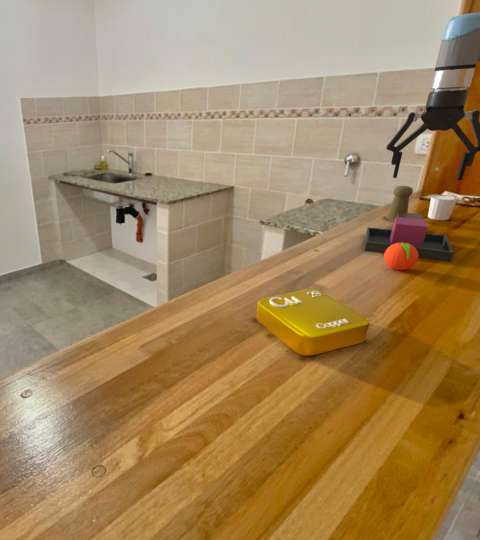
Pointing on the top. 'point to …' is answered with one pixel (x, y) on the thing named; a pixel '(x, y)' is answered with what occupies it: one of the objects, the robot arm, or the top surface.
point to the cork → (399, 201)
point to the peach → (401, 256)
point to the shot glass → (441, 207)
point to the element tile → (311, 321)
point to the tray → (431, 247)
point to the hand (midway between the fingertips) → (425, 178)
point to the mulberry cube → (409, 231)
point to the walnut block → (409, 215)
